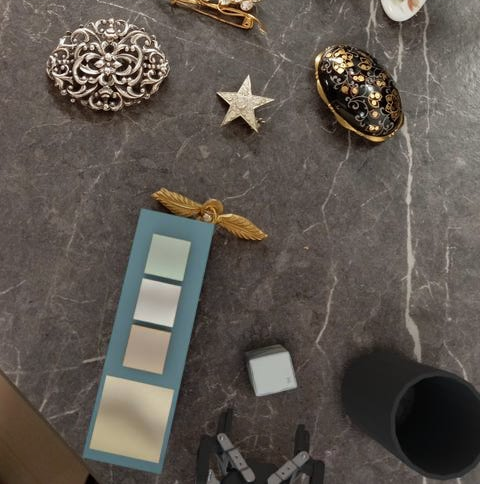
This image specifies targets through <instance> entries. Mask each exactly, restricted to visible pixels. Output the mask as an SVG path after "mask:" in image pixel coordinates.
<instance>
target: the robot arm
mask: <svg viewBox="0 0 480 484" xmlns="http://www.w3.org/2000/svg"><path fill="white" fill-rule="evenodd" d="M233 415H234V408H230V407H227V408H226V411H222V412H221V413H220V415H219V419H218V422H217V428H216V434H215V435H214V436H210V435H209V434H206V433H204V434H202V435H201V436H200V438H199V445H198V447H197V450H196V459H195V469H194V478H193V479H194V481H193V484H294V483H295V481H296V480H298V478H300V477H301V476H302V475H303V474H304V475H306V476H307V477H308V478H309V479H308V484H324V480H325V470H326V469H325V468H326V464H325V461H323V460H322V459H314V458H313V457H311V455H310V438H311V437H310V436H311V434H310V432H309V430H307V429H306V424H300V423H298V425H297V428H296V430H295V434H294V435H295V436H294V446H293V458H292V459H288V461H287V462H285V463H284V464H283V465H281V467H280V468H279V467H277V466H276V464H275V463H272V462H261V461H259V460H257V459H254V458H249V457H248V458H247V459H246V460H245V459H244V457H243V456H242V454H241V452H240V451H239V449H238V448H237V447H235V446H234V445H233V444H232V442H231V440H230V436H231V430H232V422H233V417H234V416H233ZM213 454H214V455H215V458H216V459H217V461H218V462H219V464H220V467H221V472H222V473H223V475H224V476H223V477H222V478H221V479H220V480H218V479H217V478H216V474H215V472H214V470H213V469H212V468H210V459H211V455H213Z"/></svg>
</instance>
